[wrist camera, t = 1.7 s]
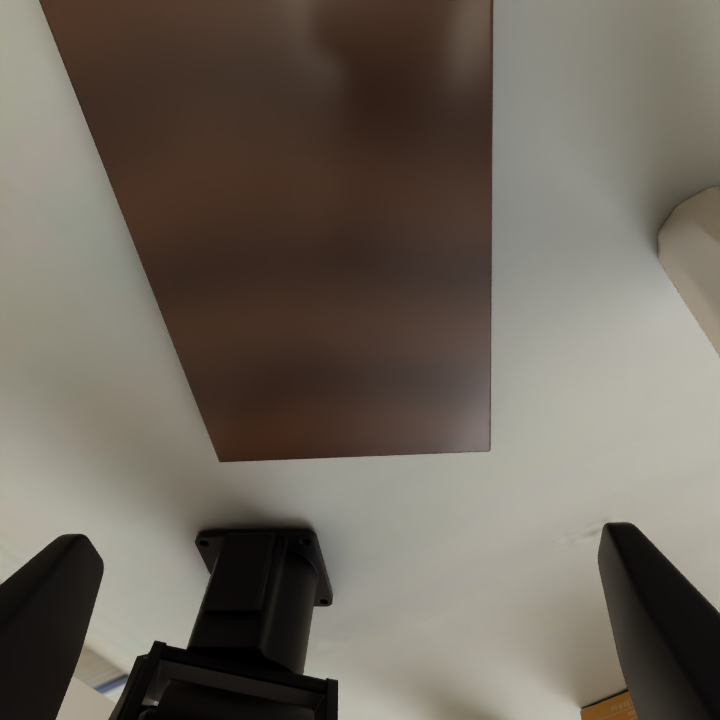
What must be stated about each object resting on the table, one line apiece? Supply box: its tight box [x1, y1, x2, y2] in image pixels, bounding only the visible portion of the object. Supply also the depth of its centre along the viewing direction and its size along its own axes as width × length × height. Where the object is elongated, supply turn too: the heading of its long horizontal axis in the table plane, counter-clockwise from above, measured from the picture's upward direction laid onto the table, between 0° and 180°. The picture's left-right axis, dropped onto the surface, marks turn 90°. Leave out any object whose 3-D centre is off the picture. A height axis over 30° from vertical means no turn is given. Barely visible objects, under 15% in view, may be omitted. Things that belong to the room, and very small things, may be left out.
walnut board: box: [39, 0, 493, 462], centre depth 19 cm, size 18×12×1 cm, turn 8°
